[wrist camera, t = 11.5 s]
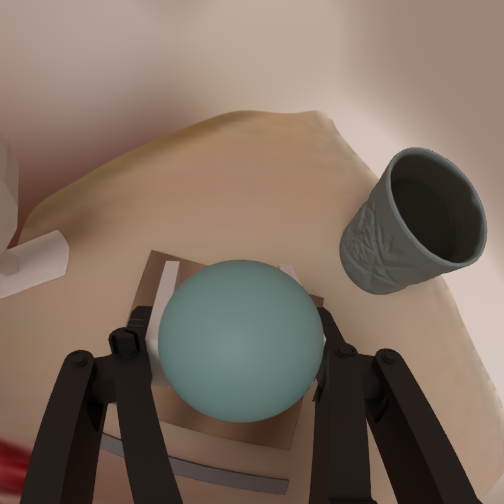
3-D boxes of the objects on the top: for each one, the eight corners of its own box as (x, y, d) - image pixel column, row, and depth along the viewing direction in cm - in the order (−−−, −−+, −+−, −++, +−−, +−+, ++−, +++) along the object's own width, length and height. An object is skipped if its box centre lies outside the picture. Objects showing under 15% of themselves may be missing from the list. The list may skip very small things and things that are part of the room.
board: (108, 399, 23) (105, 400, 22) (152, 253, 28) (151, 249, 27) (286, 447, 24) (289, 449, 23) (320, 299, 29) (323, 298, 28)
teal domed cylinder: (174, 380, 19) (118, 405, 7) (196, 304, 21) (179, 210, 9) (254, 401, 20) (327, 453, 7) (273, 325, 22) (364, 262, 9)
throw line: (87, 441, 21) (86, 442, 21) (90, 427, 22) (89, 428, 21) (284, 493, 22) (284, 494, 22) (288, 479, 22) (289, 481, 22)
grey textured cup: (426, 277, 31) (502, 237, 20) (360, 321, 29) (440, 292, 17) (381, 200, 34) (440, 137, 23) (311, 230, 31) (362, 160, 20)
